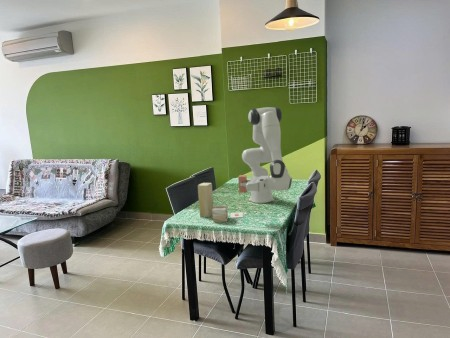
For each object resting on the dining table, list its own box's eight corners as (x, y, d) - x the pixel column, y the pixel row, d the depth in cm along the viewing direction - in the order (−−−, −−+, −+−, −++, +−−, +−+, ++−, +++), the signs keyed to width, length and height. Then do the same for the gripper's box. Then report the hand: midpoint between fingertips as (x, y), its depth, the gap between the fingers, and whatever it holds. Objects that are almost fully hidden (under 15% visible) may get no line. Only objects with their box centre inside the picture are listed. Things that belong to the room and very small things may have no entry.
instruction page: (230, 212, 224) (230, 212, 224) (242, 212, 223) (242, 211, 223) (230, 217, 214) (230, 217, 214) (243, 217, 214) (243, 216, 214)
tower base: (215, 217, 216) (214, 205, 215) (227, 217, 215) (227, 205, 213) (213, 221, 208) (212, 209, 207) (225, 221, 207) (225, 209, 205)
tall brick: (240, 190, 209) (239, 175, 208) (247, 190, 209) (246, 174, 207) (239, 192, 205) (238, 176, 203) (246, 192, 204) (245, 176, 202)
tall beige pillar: (204, 212, 227) (202, 182, 223) (214, 213, 224) (212, 182, 220) (198, 216, 220) (196, 185, 216) (209, 217, 217) (206, 185, 213)
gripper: (266, 174, 212) (244, 174, 215) (261, 182, 192) (237, 181, 196) (266, 184, 213) (244, 183, 216) (261, 192, 194) (238, 192, 197)
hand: (241, 183), depth 206 cm, fingers closed on tall brick, 5 cm apart
